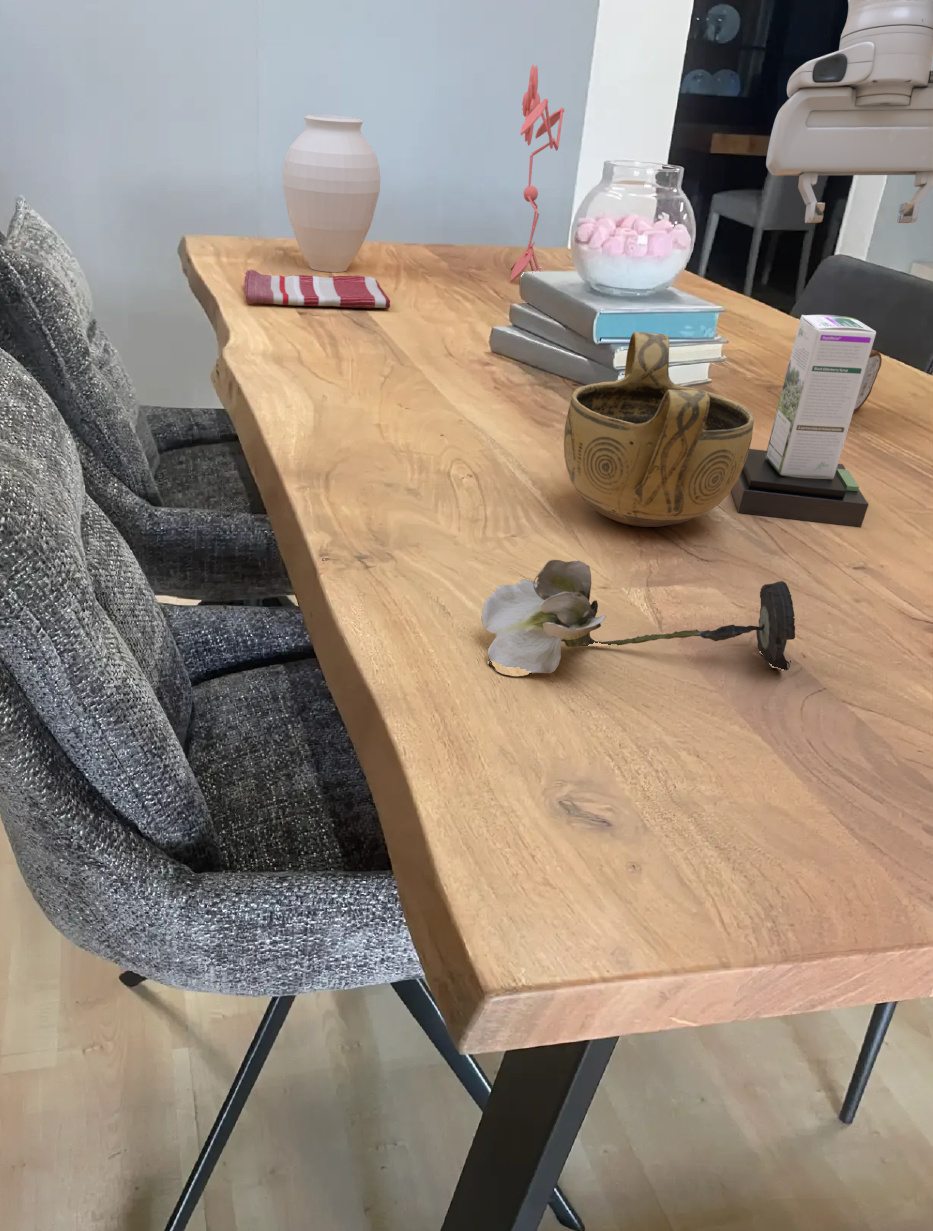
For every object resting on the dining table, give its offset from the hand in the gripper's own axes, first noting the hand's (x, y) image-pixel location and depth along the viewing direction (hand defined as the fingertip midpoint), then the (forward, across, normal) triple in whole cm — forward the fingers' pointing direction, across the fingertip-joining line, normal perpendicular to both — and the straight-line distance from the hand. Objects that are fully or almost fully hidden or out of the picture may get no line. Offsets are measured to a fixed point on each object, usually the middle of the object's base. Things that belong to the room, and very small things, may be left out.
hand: (859, 222), depth 111 cm
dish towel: (+6, +70, -60) cm, 93 cm away
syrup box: (+24, +6, +13) cm, 28 cm away
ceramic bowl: (+28, +22, +22) cm, 42 cm away
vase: (-1, +72, -87) cm, 113 cm away
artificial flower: (+35, +25, +51) cm, 67 cm away
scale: (+27, +6, +12) cm, 30 cm away
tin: (+21, -6, -21) cm, 31 cm away
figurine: (0, +39, -96) cm, 103 cm away
